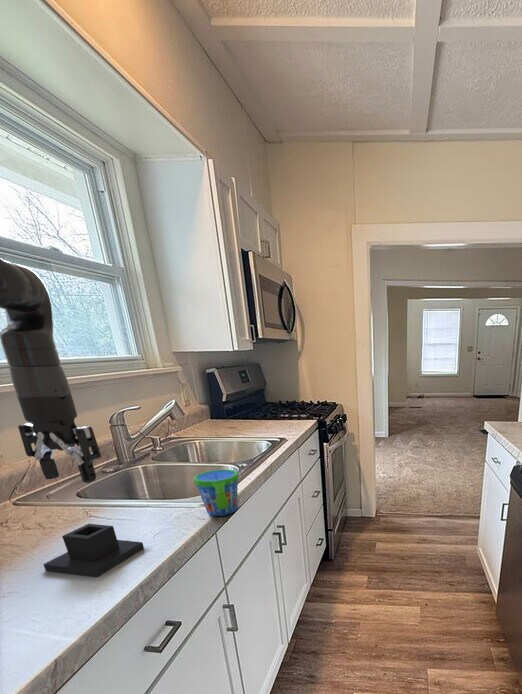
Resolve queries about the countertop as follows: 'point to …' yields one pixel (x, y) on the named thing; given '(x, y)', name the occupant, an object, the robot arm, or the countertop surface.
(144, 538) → the countertop surface
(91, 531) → the socket block
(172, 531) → the countertop surface
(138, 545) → the base pad
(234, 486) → the snack cup
